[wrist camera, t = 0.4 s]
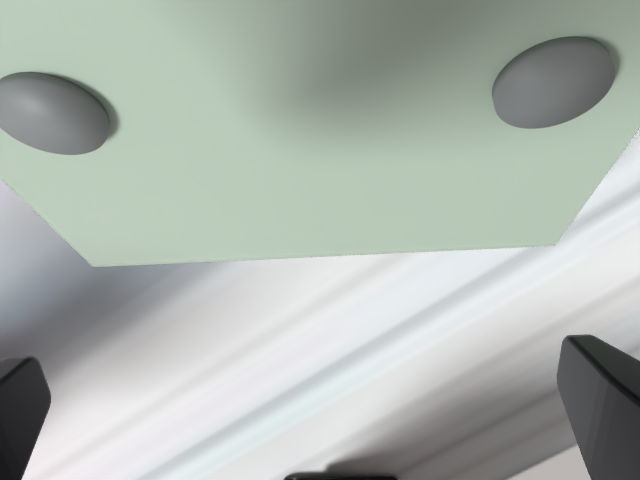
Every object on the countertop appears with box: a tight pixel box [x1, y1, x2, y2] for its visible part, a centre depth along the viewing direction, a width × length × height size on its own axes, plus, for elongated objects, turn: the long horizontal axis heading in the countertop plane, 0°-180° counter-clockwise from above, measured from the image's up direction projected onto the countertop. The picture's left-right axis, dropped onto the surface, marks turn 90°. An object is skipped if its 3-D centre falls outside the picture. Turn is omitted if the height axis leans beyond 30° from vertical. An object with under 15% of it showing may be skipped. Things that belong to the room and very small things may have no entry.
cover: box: [0, 0, 640, 267], centre depth 14 cm, size 12×16×1 cm
